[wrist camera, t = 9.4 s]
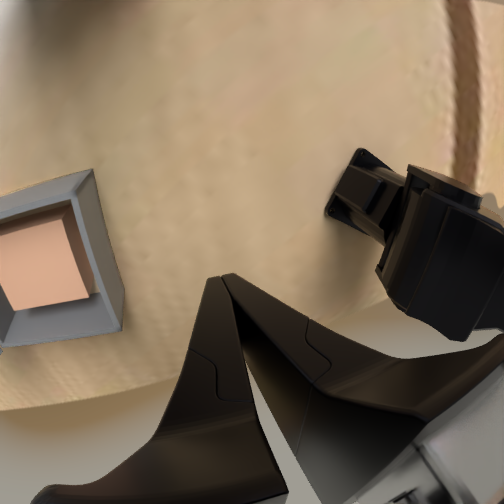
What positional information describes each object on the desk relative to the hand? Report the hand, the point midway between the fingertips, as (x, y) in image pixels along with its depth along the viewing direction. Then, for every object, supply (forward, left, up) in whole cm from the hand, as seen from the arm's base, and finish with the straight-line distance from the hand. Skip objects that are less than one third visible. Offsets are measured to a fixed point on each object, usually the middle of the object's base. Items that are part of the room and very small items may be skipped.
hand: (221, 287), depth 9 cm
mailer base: (+8, +8, -13) cm, 18 cm away
